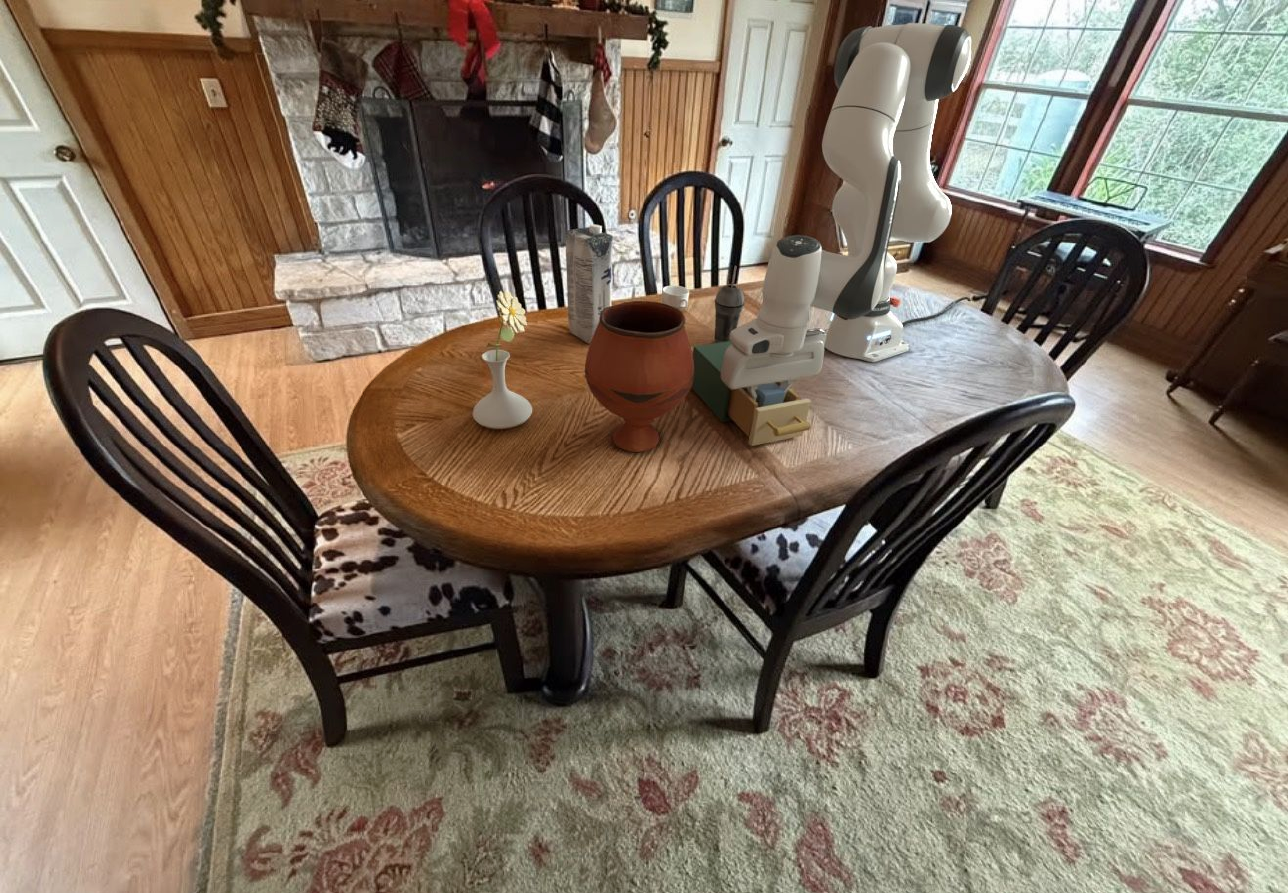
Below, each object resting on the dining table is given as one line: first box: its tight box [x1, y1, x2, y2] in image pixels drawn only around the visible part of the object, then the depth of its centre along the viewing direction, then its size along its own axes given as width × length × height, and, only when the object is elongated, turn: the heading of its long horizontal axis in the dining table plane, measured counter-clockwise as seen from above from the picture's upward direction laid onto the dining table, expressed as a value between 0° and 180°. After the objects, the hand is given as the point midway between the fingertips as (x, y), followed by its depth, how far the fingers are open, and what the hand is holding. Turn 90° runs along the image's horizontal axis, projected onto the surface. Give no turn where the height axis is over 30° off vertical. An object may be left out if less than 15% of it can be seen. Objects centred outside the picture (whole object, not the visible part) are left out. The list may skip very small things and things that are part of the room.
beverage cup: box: [714, 265, 745, 343], centre depth 134 cm, size 7×7×20 cm
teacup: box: [661, 285, 690, 311], centre depth 157 cm, size 10×8×5 cm
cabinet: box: [691, 341, 733, 423], centre depth 116 cm, size 16×13×10 cm
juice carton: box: [564, 224, 614, 345], centre depth 134 cm, size 9×10×27 cm
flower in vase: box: [472, 290, 533, 430], centre depth 102 cm, size 13×11×25 cm
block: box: [755, 383, 785, 407], centre depth 106 cm, size 4×4×4 cm
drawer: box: [727, 381, 812, 447], centre depth 106 cm, size 18×11×8 cm, turn 22°
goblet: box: [584, 300, 694, 453], centre depth 98 cm, size 19×19×25 cm
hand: (766, 400), depth 106 cm, fingers closed on block, 4 cm apart
